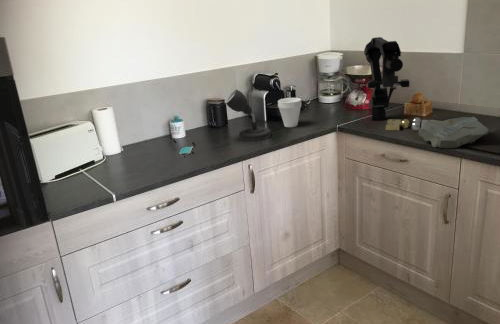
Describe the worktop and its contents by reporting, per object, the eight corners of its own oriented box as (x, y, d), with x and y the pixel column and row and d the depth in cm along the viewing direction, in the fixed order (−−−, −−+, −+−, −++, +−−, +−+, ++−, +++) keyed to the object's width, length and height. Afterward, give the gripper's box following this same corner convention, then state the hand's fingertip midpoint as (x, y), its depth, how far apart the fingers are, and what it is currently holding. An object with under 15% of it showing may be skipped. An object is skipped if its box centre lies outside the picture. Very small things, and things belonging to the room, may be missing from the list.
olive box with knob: (385, 130, 204) (385, 122, 203) (387, 124, 214) (388, 117, 212) (408, 130, 200) (408, 123, 199) (409, 124, 210) (409, 117, 209)
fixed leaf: (411, 130, 200) (411, 123, 199) (412, 124, 209) (412, 117, 208) (434, 131, 196) (435, 123, 195) (434, 124, 205) (435, 117, 204)
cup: (286, 129, 220) (284, 103, 215) (275, 125, 231) (273, 100, 226) (306, 125, 224) (305, 99, 220) (295, 121, 235) (293, 96, 231)
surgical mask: (171, 139, 207) (192, 135, 210) (173, 147, 208) (193, 144, 211) (180, 150, 188) (202, 145, 191) (181, 159, 190) (203, 155, 193)
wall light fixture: (222, 89, 211) (262, 82, 213) (230, 137, 220) (268, 130, 221) (224, 94, 197) (267, 87, 198) (232, 145, 205) (273, 138, 206)
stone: (437, 140, 168) (411, 121, 185) (435, 158, 172) (410, 138, 189) (502, 127, 171) (471, 110, 188) (499, 146, 175) (468, 127, 192)
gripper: (367, 72, 198) (366, 105, 203) (410, 70, 192) (408, 104, 197) (368, 68, 208) (368, 100, 213) (409, 67, 202) (408, 99, 207)
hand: (388, 101), depth 207 cm, fingers closed
